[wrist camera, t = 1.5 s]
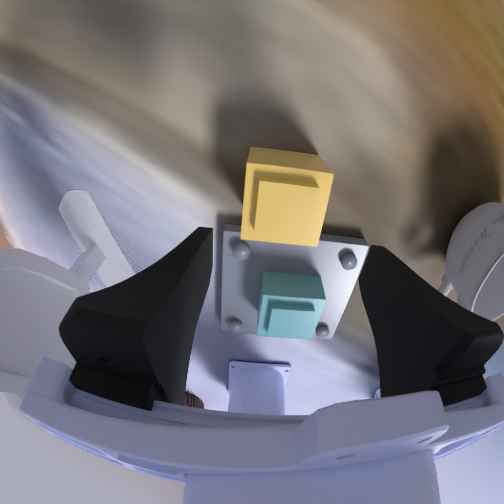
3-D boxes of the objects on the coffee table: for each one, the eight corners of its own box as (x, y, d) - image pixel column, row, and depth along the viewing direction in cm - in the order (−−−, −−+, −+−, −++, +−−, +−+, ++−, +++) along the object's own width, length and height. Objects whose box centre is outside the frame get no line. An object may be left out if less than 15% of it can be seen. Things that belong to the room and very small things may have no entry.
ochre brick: (307, 215, 21) (318, 252, 17) (245, 208, 21) (239, 244, 17) (319, 155, 19) (336, 177, 14) (250, 146, 19) (246, 165, 14)
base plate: (329, 330, 29) (336, 365, 25) (222, 322, 29) (216, 358, 25) (364, 238, 22) (383, 272, 18) (225, 223, 22) (216, 257, 18)
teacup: (498, 174, 17) (551, 210, 11) (502, 251, 22) (537, 292, 15) (397, 234, 22) (437, 293, 15) (417, 304, 27) (442, 359, 20)
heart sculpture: (154, 301, 28) (99, 460, 13) (121, 308, 29) (63, 446, 14) (79, 172, 20) (-73, 310, 5) (49, 192, 21) (-76, 316, 6)
